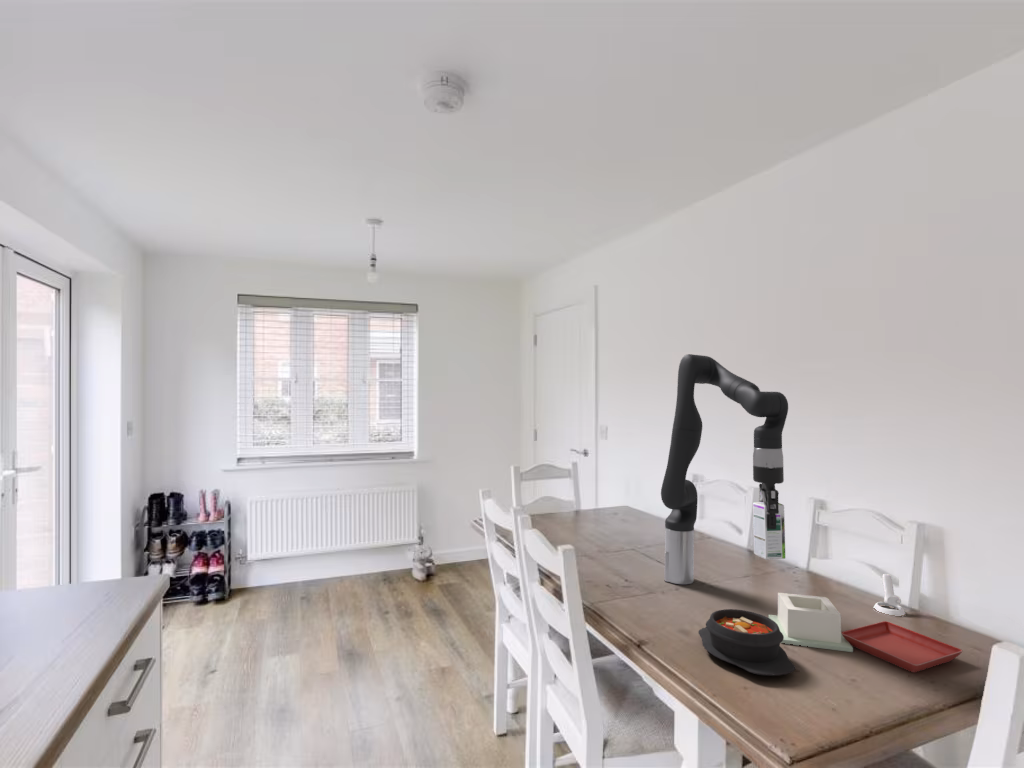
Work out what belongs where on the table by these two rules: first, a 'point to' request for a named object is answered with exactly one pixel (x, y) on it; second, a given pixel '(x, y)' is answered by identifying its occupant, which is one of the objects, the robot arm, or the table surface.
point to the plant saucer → (901, 646)
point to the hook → (889, 598)
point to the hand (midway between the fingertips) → (768, 525)
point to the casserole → (746, 642)
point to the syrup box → (768, 533)
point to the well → (810, 622)
